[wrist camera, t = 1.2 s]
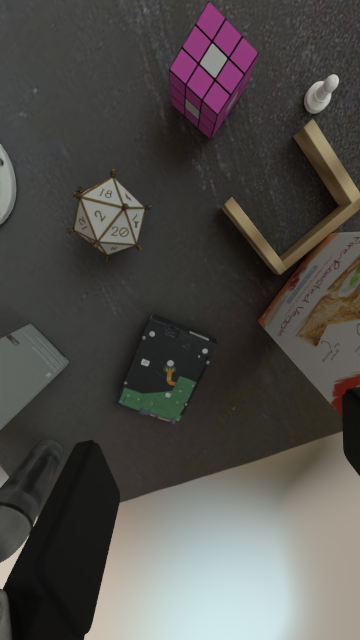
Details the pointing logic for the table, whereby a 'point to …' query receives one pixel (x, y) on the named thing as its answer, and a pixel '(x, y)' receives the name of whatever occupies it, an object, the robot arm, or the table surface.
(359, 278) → the cracker box
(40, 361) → the cosmetic box
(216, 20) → the puzzle toy
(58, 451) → the beverage cup
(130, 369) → the disk drive
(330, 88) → the chess pawn
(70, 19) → the table surface
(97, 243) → the game die
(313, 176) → the table surface
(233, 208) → the frame
